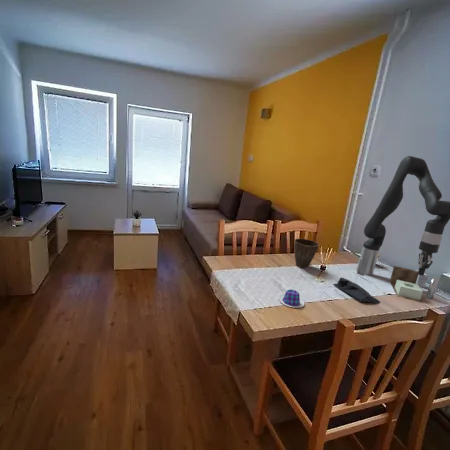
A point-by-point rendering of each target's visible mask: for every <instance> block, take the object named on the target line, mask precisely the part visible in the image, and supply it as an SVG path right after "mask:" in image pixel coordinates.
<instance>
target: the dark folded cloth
mask: <svg viewBox="0 0 450 450" xmlns="http://www.w3.org/2000/svg"><path fill="white" fill-rule="evenodd" d="M333 286H335V287H336V288H338V289H339V290H340V291H341V292H343V293H345V294H347V295H348V296H350V297H352V298H353V299H354V300H356V301H358V302H362V303H363V302H364V303H372V304H373V303H374V304H380V303H381V301H380V300H379V299H377V298H376V297H374V296H372V294H370V293H369V292H368V291H367V290H366V289H364V288H363V287H362V286H360V285H358V284H357V283H355V282H353V281H351V280H350V279H348V278H344V277H340V278H339V280H338V281H337V283H333Z"/></svg>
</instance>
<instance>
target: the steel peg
mask: <svg viewBox="0 0 450 450" xmlns="http://www.w3.org/2000/svg"><path fill="white" fill-rule="evenodd" d="M439 280H440V279H438V278H435V277H432V278H431V280H430V282H429V286H428V289H427V291H426V296H425V297H426V298H427V299H429V300H433V299H434V296H435V294H436V290H437V287H438V283H439Z"/></svg>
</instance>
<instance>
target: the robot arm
mask: <svg viewBox="0 0 450 450" xmlns="http://www.w3.org/2000/svg"><path fill="white" fill-rule="evenodd" d="M408 175H410V176H415V177H416V178H417V179H418V181H419V183H418V190H419V193H420V194H421V196H422V198H423V199H424V205H425V210H426V212H428V214H430V215H432V216H435V218H434V219H428V220H427V222H426V224H425V227H424V231H423V233H422V236H421V238H420V243H419V245H418V249H419V250H420V251H421V253H419V254H418V267H419V268H418V269H417V270H418V274H419V275H422V276H423V275H424V273H425V272H426V270H428V269H429V268H430V267H431V266H432V264H433V260H432V259H433V254H437V253H438V252H439V248H440V246H441V243H442V238H443V234H444V230H445V227H446V225H447V224H448V222H449V221H450V201H449V200H448V201H447V200H441V199H442V197H443V194H442V191H440V190H441V189H439V187H438V186H437V185H436V183H435V181H434V180H433V177H432V175H431V172H430V170H429V167H428V164H427V162H426V160H425V159H424V158H420V157H416V156H412V155H407V156H405V157H403V159H401V161H400V162H399V163H398V167H397V169H396V171H395V173H394V176H393V179H392V180H391V183H390V184H389V186H388V188H387V190H386V191H385V193H384V195H383V197H382V198H381V200H380V202H379V204H378V206H377V207H376V209H375V211H374V213H373V214H372V216H371V217H370V219H369V220H368V222H367V223H366V224H365V226H364V228H363V234H364V236H365V238H368V239H367V240H366V241H364V242H363V245H362V249H361V252H360V256H359V258H358V263H357V266H356V273H357V274H359V275H362V276H365V275H366V276H373V275H374V271H375V267H376V264H377V263H376V260H377V256H378V254H379V251H380V249H381V247H382V245H383V242H384V240H385V237H386V233H387V229H386V226H385V225H384V224H383V222H384V221H385V219H387V218H388V217H389V216H390V215H392V214H393V213H394V212H395V211H396V210H397V209H398V207H399V206H400V204H401V203H402V201H403V199H404V187H403V186H404V182H405V181H406V180H405V179H406V178H407V176H408Z"/></svg>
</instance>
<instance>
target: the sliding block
mask: <svg viewBox="0 0 450 450" xmlns="http://www.w3.org/2000/svg"><path fill="white" fill-rule="evenodd" d="M395 289H396V291H397V293H398V295H401V296H405V297H409V298H413V299H417V300H420V299H421V300H422V296H423V290H422V287H419V286H418V284H414V283H409V282H405V281H401V280H397V281H396V285H395Z"/></svg>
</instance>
